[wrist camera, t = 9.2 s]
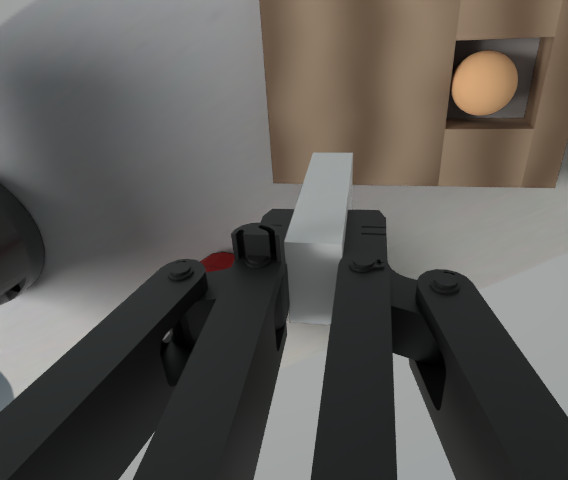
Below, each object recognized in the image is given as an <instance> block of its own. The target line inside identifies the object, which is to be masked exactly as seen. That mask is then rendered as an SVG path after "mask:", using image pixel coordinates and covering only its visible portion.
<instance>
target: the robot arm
mask: <svg viewBox="0 0 568 480" xmlns="http://www.w3.org/2000/svg"><path fill="white" fill-rule="evenodd" d="M352 174H353V153H313V154H312V157H311V160H310V163H309V167H308V170H307V173H306V176H305V179H304V182H303V185H302V188H301V191H300V194H299V197H298V201H297V204H296V207H295V209H272V210H270V211H269V212H268V213H266V214H265V215H264V216H263V218H262V220H261V222H260V223H250V224H246V225H243V226H241V227H239V228H237V229H235V230H234V231H233V232H232V233H231V237H232V244H233V251H234V259H235V260H234V262H233V264H232V266H231V267H230V268H228V269H223V270H219V271H212V272H206V270H205V266H204V265H203V264H202V263H201V262H199V261H196V260H190V259H182V260H176V261H174V262H171V263H168V264H166V265H165V266H163V267H162V268H160V269H159V270H158V271H157V272H156V273H155V274H154V275H153V276H152V277H150V278H149V279H148V280H147V281H146V282H145V283H144V284H143V285H141V286H140V287H139V288H138V289H137V290H136V291H135V292H134V293H133V294H131V295H130V296H129V297H128V298H127V299H126V300H125V301H124V302H123V303H121V304H120V305H119V306H118V307H117V308H116V309H115V310H114V311H112V312H111V313H110V314H109V315H108V316H107V317H106V318H105V319H104V320H102V321H101V322H100V323H99V324H98V325H97V326H96V327H95V328H93V329H92V330H91V331H90V332H89V333H88V334H87V335H86V336H85V337H83V338H82V339H81V340H80V341H79V342H78V343H77V344H76V345H75V346H73V347H72V348H71V349H70V350H69V351H68V352H67V353H66V354H64V355H63V356H62V357H61V358H60V359H59V360H58V361H57V362H56V363H54V364H53V365H52V366H51V367H50V368H49V369H48V370H47V371H46V372H44V373H43V374H42V375H41V376H40V377H39V378H38V379H37V380H35V381H34V382H33V383H32V384H31V385H30V386H29V387H28V388H27V389H25V390H24V391H23V392H22V393H21V394H20V395H19V396H18V397H17V398H15V399H14V400H13V401H12V402H11V403H10V404H9V405H8V406H6V407H5V408H4V409H3V410H2V411H1V412H0V480H118V479H119V478H120V477H121V475H122V474H123V473H124V472H125V470H126V469H127V467H128V466H129V465H130V464H131V462H132V461H133V460H134V458H135V457H136V456H137V454H138V453H139V452H140V450H141V449H142V448H143V446H144V445H145V444H146V442H147V441H148V439H149V438H150V437H151V436H152V434H153V433H154V432H155V433H154V435H153V437H152V439H151V441H150V444H149V446H148V448H147V450H146V452H145V455H144V457H143V459H142V461H141V463H140V465H139V467H138V469H137V472H136V474H135V476H134V478H133V480H253V479H254V475H255V470H256V466H257V462H258V458H259V453H260V449H261V445H262V440H263V436H264V431H265V427H266V423H267V419H268V414H269V410H270V406H271V401H272V397H273V393H274V389H275V384H276V380H277V376H278V371H279V367H280V363H281V359H282V354H283V350H284V346H285V341H286V337H287V326H286V319H287V315H288V311H289V321H290V322H291V323H306V324H320V325H330V333H329V341H328V349H327V357H326V365H325V373H324V380H323V388H322V396H321V403H320V411H319V419H318V427H317V434H316V442H315V450H314V458H313V466H312V474H311V480H397V464H396V438H395V437H396V435H395V410H394V409H395V408H394V384H393V383H394V381H393V356H392V353H395V354H398V355H401V356H404V357H407V358H409V364H410V368H411V370H412V372H413V375H414V377H415V380H416V382H417V385H418V387H419V390H420V392H421V394H422V397H423V399H424V402H425V404H426V407H427V409H428V412H429V414H430V417H431V419H432V421H433V424H434V427H435V429H436V431H437V434H438V436H439V439H440V441H441V444H442V446H443V449H444V451H445V453H446V456H447V458H448V461H449V463H450V466H451V468H452V471H453V473H454V476H455V478H456V480H568V417H567V415H566V414H565V413H564V411H563V410H562V408H561V407H560V406H559V404H558V403H557V401H556V400H555V398H554V397H553V396H552V394H551V393H550V392H549V390H548V389H547V387H546V386H545V384H544V383H543V382H542V380H541V379H540V377H539V376H538V374H537V373H536V372H535V370H534V369H533V367H532V366H531V365H530V363H529V362H528V361H527V359H526V358H525V356H524V355H523V353H522V352H521V351H520V349H519V348H518V347H517V345H516V344H515V342H514V341H513V340H512V338H511V336H510V335H509V334H508V332H507V331H506V329H505V328H504V327H503V325H502V324H501V323H500V321H499V320H498V318H497V317H496V315H495V314H494V313H493V311H492V310H491V308H490V307H489V306H488V304H487V303H486V301H485V300H484V298H483V297H482V296H481V294H480V293H479V291H478V290H477V289H476V287H475V286H474V284H473V283H472V282H471V281H470V280H469V279H468V278H467V277H466V276H464V275H462V274H460V273H457V272H454V271H450V270H439V269H435V270H431V271H426V272H425V273H423V274H422V275H420V276H419V278H418V280H414V279H410V278H407V277H404V276H402V275H400V274H398V273H396V272H395V271H393V270H392V269H391V268H390V266H389V264H388V261H387V239H386V218H385V217H384V216H383V214H382V213H381V212H380V211H379V210H352ZM43 265H44V248H43V243H42V239H41V236H40V234H39V231H38V229H37V227H36V225H35V223H34V222H33V220H32V218H31V217H30V215H29V214H28V212H27V211H26V210H25V208H24V207H23V206H22V205H21V204H20V203H19V201H18V200H17V199H16V198H15V197H14V196H13V195H12V194H11V193H9V192H8V191H7V190H6V189H5V188H4V187H2V186H1V185H0V305H1V304H4V303H6V302H8V301H11V300H13V299H14V298H16V297H18V296H19V295H21V294H22V293H23V292H24V291H25V290H26V289H27V288H28V287H29V286H31V285H32V284H33V283H34V282H35V281H36V280H37V278H38V277H39V275H40V274H41V271H42V269H43ZM168 332H169V335H168V336H167V337H166V338H165V339H164V337H165V335H166V334H167V333H168ZM163 339H164V340H163ZM155 430H156V431H155Z"/></svg>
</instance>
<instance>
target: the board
mask: <svg viewBox="0 0 568 480" xmlns="http://www.w3.org/2000/svg"><path fill="white" fill-rule="evenodd" d="M259 1H260V14H261V27H262V40H263V53H264V66H265V79H266V93H267V106H268V119H269V132H270V145H271V158H272V171H273V183H289V184H303V182H304V179H305V176H306V173H307V170H308V167H309V163H310V160H311V157H312V154H313V153H353V174H352V185H407V186H466V187H525V188H555V186H556V182H557V179H558V175H559V171H560V167H561V163H562V160H563V156H564V152H565V148H566V144H567V141H568V0H259ZM537 37H541V39H540V43H539V48H538V53H537V58H536V63H535V67H534V72H533V77H532V82H531V87H530V91H529V96H528V101H527V106H526V111H525V115H524V118H446V117H447V109H448V101H449V93H450V85H451V76H452V68H453V60H454V52H455V44H456V40H482V39H510V38H537Z"/></svg>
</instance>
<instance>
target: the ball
mask: <svg viewBox="0 0 568 480" xmlns="http://www.w3.org/2000/svg"><path fill="white" fill-rule="evenodd" d="M517 84H518V74H517V70H516V67H515V65H514V63H513V62H512V61H511V59H510V58H508V57H507V56H506V55H504V54H502V53H500V52H497V51H491V50H486V51H480V52H477V53H474V54H472V55H470V56H468V57H467V58H465V59H464V60H463V61H462V62H461V63H460V64H459V65H458V67H457V68H456V70H455V72H454V74H453V76H452V80H451V94H452V97H453V100H454V102H455V103H456V105H457V106H458V107H459V108H460V109H461V110H463V111H464V112H466V113H469V114H472V115H478V116H481V115H489V114H492V113H495V112H497V111H498V110H500V109H502V108H503V107H504V106H505V105H506V104H508V102H509V101H510V100H511V99H512V97H513V95H514V93H515V91H516V88H517Z"/></svg>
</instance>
